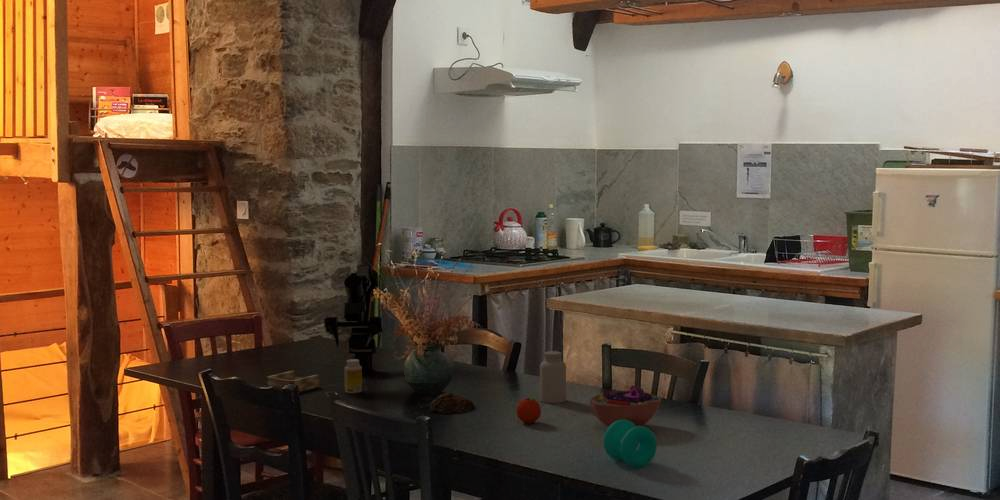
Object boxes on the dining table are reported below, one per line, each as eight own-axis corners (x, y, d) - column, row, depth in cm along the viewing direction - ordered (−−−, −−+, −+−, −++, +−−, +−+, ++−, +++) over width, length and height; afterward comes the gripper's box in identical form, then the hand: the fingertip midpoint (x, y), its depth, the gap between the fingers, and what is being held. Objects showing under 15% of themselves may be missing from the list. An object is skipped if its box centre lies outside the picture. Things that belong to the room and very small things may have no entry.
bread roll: (444, 403, 313) (444, 386, 313) (479, 407, 307) (479, 391, 306) (420, 411, 302) (420, 395, 302) (455, 417, 296) (455, 400, 296)
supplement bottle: (365, 392, 327) (365, 360, 326) (350, 394, 323) (349, 362, 322) (356, 389, 331) (355, 357, 330) (341, 391, 327) (340, 360, 327)
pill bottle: (535, 402, 312) (535, 353, 311) (546, 397, 319) (546, 349, 318) (559, 405, 308) (559, 355, 307) (570, 399, 316) (570, 351, 314)
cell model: (578, 423, 287) (579, 383, 286) (642, 417, 294) (642, 378, 293) (606, 438, 271) (606, 396, 270) (672, 431, 278) (673, 390, 277)
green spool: (634, 455, 256) (634, 416, 255) (659, 465, 247) (659, 425, 246) (601, 461, 251) (601, 421, 251) (624, 472, 243) (625, 430, 242)
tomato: (538, 418, 293) (538, 393, 292) (548, 424, 286) (548, 399, 286) (512, 421, 290) (512, 396, 289) (521, 427, 283) (521, 401, 283)
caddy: (292, 382, 341) (292, 370, 341) (319, 386, 334) (319, 374, 334) (265, 389, 331) (265, 376, 331) (292, 393, 325) (292, 381, 324)
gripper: (324, 292, 337) (319, 332, 328) (381, 292, 337) (377, 332, 328) (328, 311, 346) (324, 351, 336) (384, 311, 346) (381, 351, 336)
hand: (351, 346), depth 334 cm, fingers open, 9 cm apart
